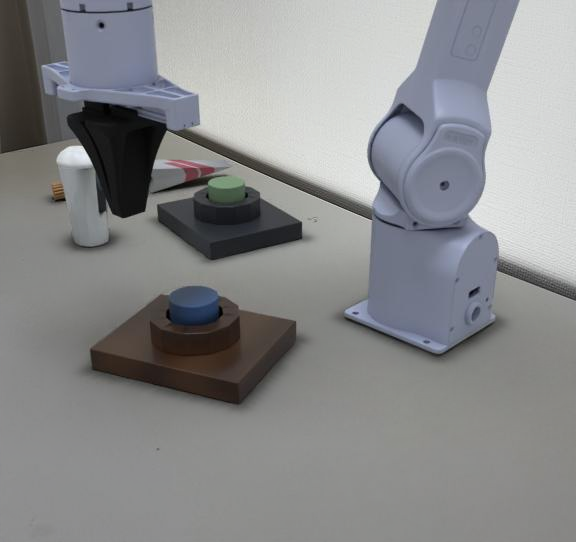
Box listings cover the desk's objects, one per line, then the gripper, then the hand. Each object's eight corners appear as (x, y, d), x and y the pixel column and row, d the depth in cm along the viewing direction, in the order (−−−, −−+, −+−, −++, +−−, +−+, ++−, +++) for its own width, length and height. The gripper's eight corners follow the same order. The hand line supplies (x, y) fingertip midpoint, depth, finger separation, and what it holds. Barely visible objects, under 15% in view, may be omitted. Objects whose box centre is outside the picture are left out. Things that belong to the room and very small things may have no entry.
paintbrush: (232, 155, 98) (53, 184, 92) (234, 179, 99) (58, 209, 93) (222, 146, 101) (48, 173, 95) (224, 169, 102) (52, 197, 97)
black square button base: (302, 238, 85) (302, 203, 83) (210, 259, 80) (209, 223, 79) (243, 202, 94) (242, 170, 92) (157, 220, 89) (155, 186, 87)
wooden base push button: (296, 340, 67) (296, 299, 65) (239, 404, 59) (237, 359, 58) (162, 312, 71) (159, 273, 69) (91, 369, 64) (85, 326, 62)
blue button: (227, 311, 65) (227, 290, 64) (204, 332, 62) (203, 310, 61) (185, 303, 66) (184, 282, 65) (160, 323, 63) (158, 301, 62)
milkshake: (113, 252, 82) (101, 146, 77) (60, 247, 83) (44, 143, 78) (130, 234, 86) (119, 132, 81) (79, 230, 87) (65, 129, 82)
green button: (252, 201, 85) (251, 183, 84) (219, 208, 83) (218, 190, 82) (234, 191, 88) (233, 173, 87) (202, 197, 86) (201, 180, 85)
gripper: (-10, 2, 57) (24, 202, 64) (125, 27, 48) (148, 256, 55) (81, -9, 61) (103, 180, 68) (220, 12, 52) (229, 226, 59)
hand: (129, 212), depth 62 cm, fingers closed
